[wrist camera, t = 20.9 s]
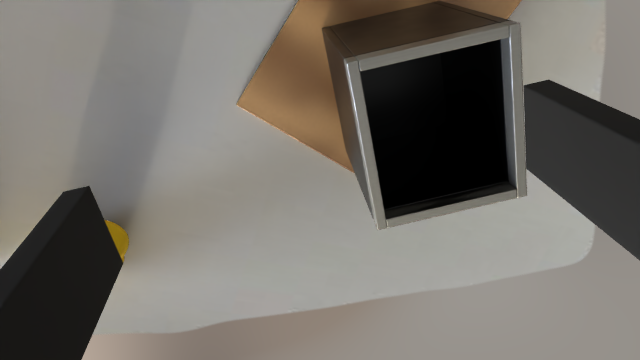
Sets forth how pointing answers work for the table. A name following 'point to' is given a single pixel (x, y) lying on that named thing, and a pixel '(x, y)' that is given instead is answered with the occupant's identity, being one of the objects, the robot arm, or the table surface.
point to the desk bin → (430, 109)
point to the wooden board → (320, 70)
